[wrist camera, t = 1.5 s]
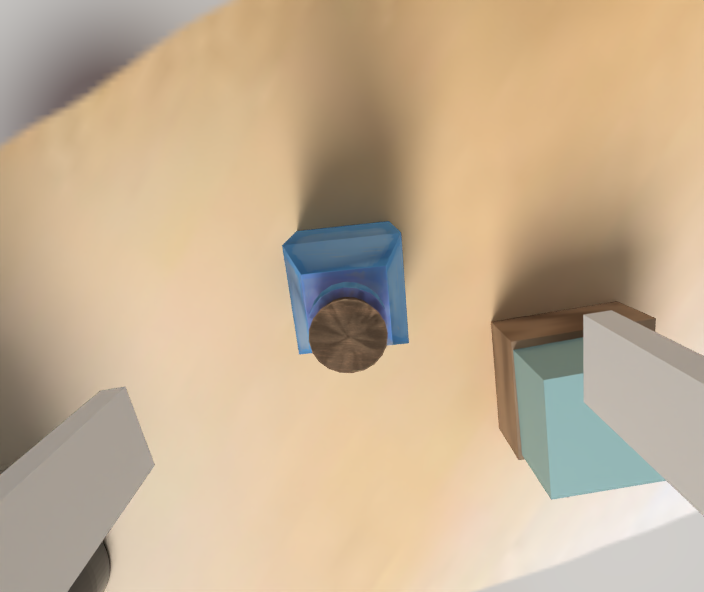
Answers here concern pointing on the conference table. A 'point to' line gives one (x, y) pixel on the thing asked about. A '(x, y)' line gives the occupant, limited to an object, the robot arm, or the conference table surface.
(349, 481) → the conference table surface
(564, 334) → the walnut slab
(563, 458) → the teal slab
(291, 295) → the perfume bottle
